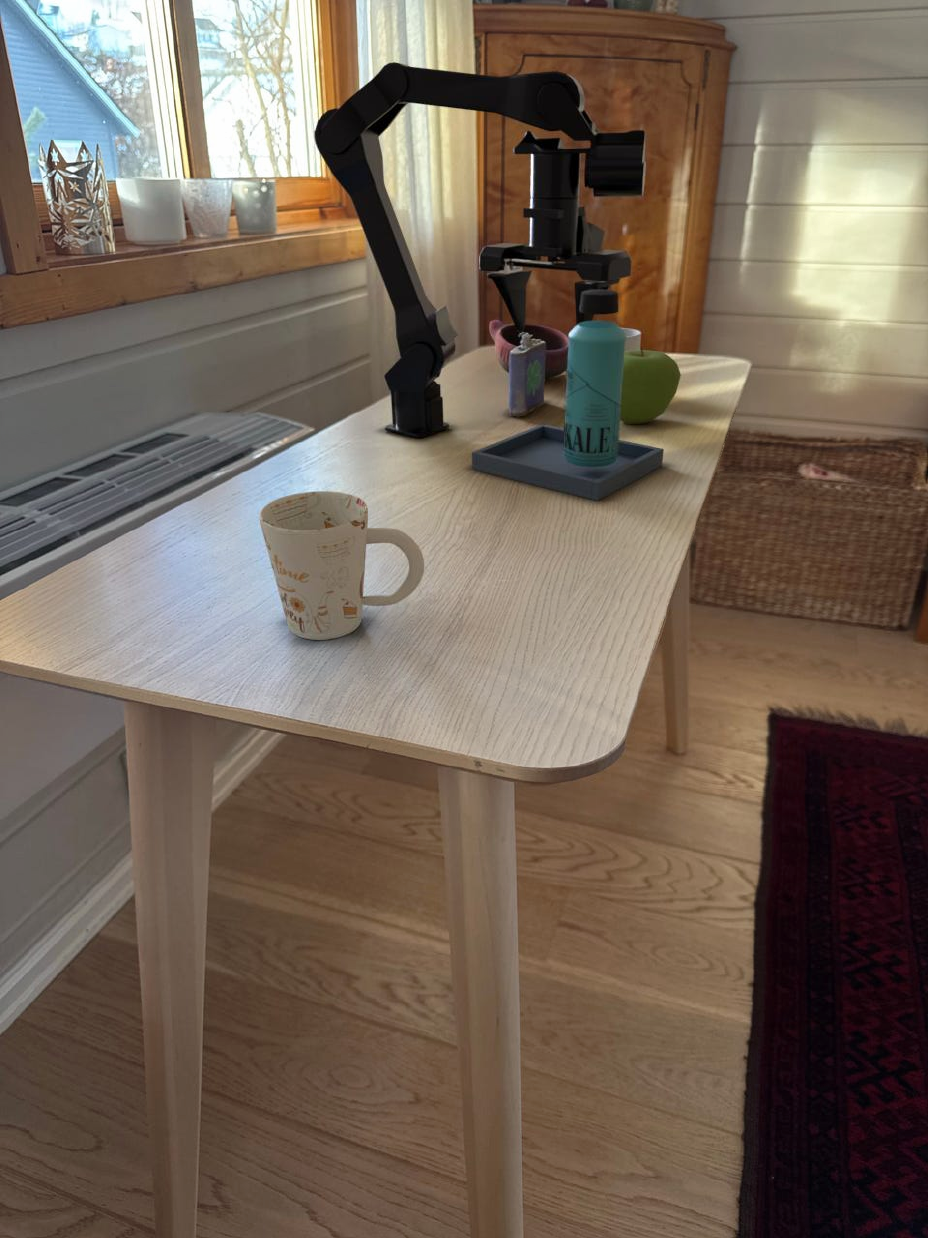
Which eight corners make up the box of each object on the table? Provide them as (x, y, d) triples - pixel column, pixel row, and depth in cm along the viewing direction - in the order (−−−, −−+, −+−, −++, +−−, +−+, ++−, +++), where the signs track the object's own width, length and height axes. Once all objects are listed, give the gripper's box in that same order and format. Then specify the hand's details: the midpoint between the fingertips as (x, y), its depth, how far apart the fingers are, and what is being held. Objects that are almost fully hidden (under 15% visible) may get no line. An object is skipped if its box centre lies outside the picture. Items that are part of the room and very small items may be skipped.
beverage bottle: (602, 459, 108) (613, 283, 98) (628, 476, 102) (642, 292, 93) (552, 465, 106) (558, 287, 97) (575, 483, 101) (584, 296, 91)
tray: (471, 469, 107) (471, 452, 106) (541, 439, 117) (541, 423, 116) (597, 501, 97) (598, 482, 96) (662, 465, 107) (663, 448, 106)
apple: (667, 435, 118) (675, 358, 113) (589, 428, 121) (593, 353, 116) (682, 413, 127) (689, 341, 122) (609, 407, 130) (613, 337, 125)
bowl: (583, 372, 149) (585, 322, 145) (559, 391, 138) (561, 338, 135) (493, 365, 154) (493, 317, 151) (464, 383, 144) (463, 331, 140)
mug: (279, 602, 78) (265, 493, 73) (424, 594, 78) (419, 486, 74) (269, 651, 70) (252, 533, 66) (428, 642, 71) (424, 525, 66)
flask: (521, 418, 126) (522, 339, 121) (502, 415, 127) (502, 338, 122) (547, 402, 133) (549, 327, 128) (529, 400, 134) (531, 326, 129)
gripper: (659, 195, 105) (648, 332, 112) (529, 191, 115) (527, 317, 123) (609, 201, 97) (601, 348, 105) (475, 197, 108) (477, 330, 115)
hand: (550, 334), depth 112 cm, fingers open, 9 cm apart
